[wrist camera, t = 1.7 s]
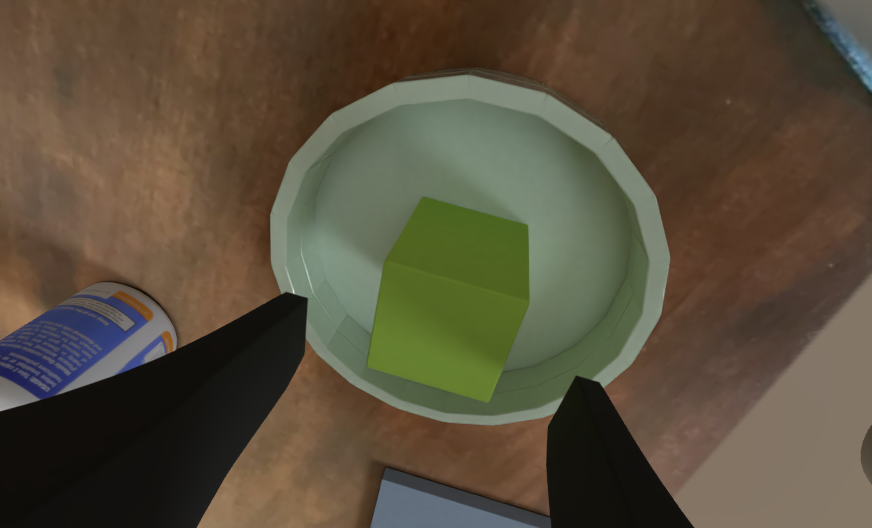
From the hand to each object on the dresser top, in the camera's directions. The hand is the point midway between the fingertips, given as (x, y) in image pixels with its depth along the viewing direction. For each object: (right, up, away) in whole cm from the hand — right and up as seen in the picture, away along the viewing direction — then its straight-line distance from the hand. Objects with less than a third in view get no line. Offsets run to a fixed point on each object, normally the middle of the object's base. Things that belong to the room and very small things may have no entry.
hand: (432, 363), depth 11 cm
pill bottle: (-16, 0, +12) cm, 20 cm away
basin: (+1, +3, +6) cm, 7 cm away
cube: (+1, +3, +5) cm, 6 cm away
